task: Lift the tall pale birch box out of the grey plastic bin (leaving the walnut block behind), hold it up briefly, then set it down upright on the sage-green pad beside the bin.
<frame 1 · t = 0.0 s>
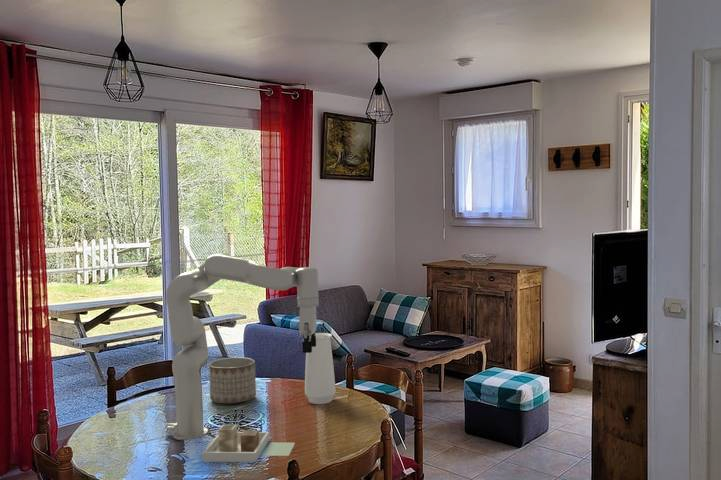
hand: (309, 349, 234), 31 cm above the table, fingers open, 9 cm apart
planter: (233, 400, 282), on the table
walnut block: (250, 450, 220), point 1 cm above the table, touching bin
birch box: (228, 450, 221), point 1 cm above the table, touching bin
vase: (320, 401, 277), on the table
bin: (237, 452, 221), on the table
pad: (279, 450, 221), on the table
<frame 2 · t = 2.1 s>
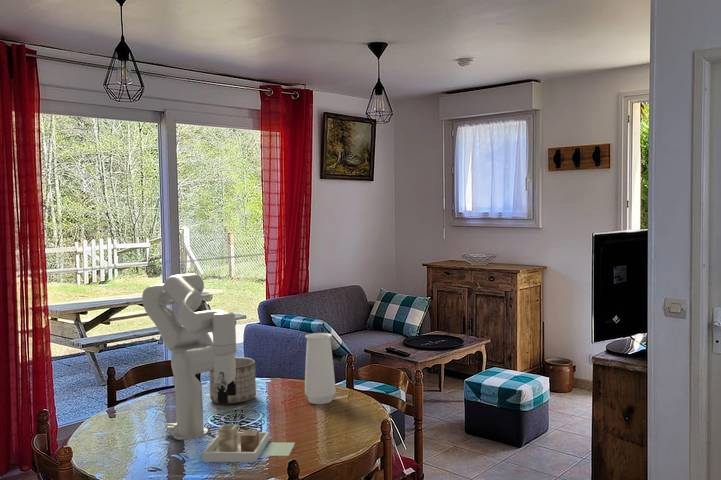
hand: (227, 399, 220), 18 cm above the table, fingers open, 9 cm apart
nothing on the table moved.
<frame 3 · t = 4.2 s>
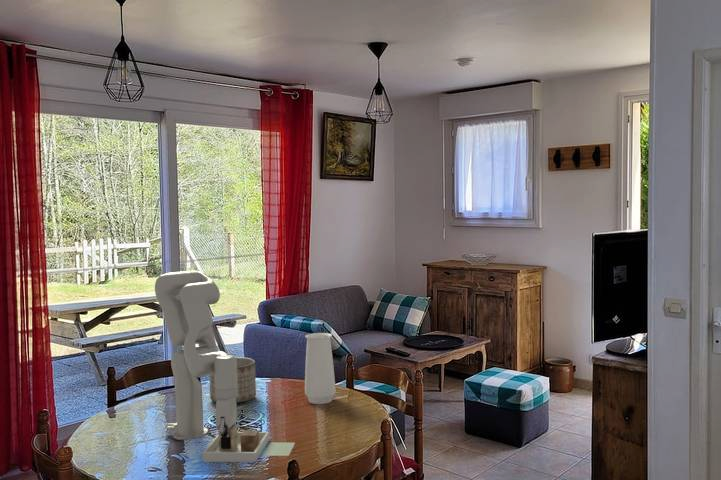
hand: (228, 444, 221), 2 cm above the table, fingers closed on birch box, 5 cm apart
birch box: (228, 450, 221), point 1 cm above the table, touching bin, gripper
everything else where it was.
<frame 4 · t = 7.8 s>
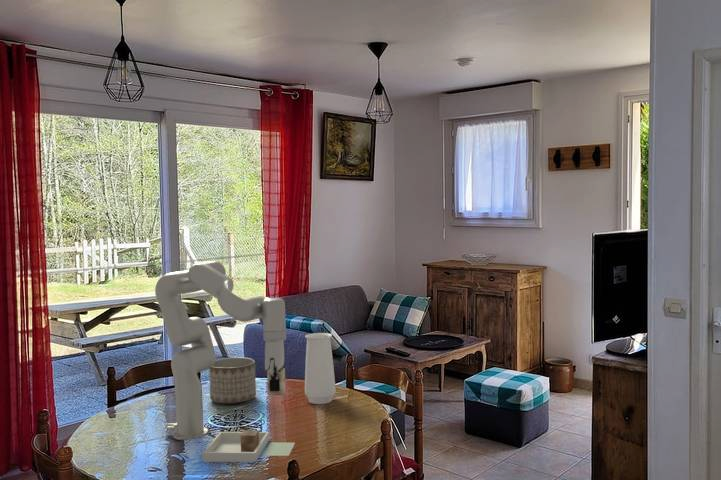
hand: (276, 388, 220), 21 cm above the table, fingers closed on birch box, 5 cm apart
birch box: (276, 393, 220), point 20 cm above the table, touching gripper
everything else where it was.
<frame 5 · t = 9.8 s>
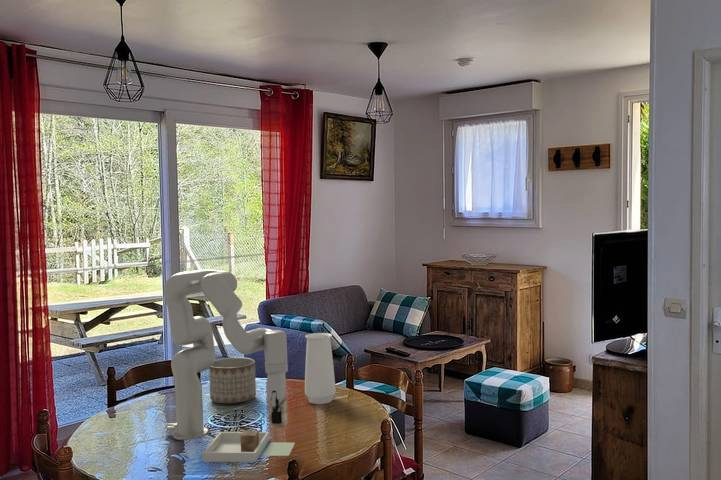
hand: (278, 420, 221), 11 cm above the table, fingers closed on birch box, 5 cm apart
birch box: (278, 425, 221), point 9 cm above the table, touching gripper
everything else where it was.
when the fingers open (3 cm above the table, at t = 11.6 s): birch box stays where it is, resting on pad.
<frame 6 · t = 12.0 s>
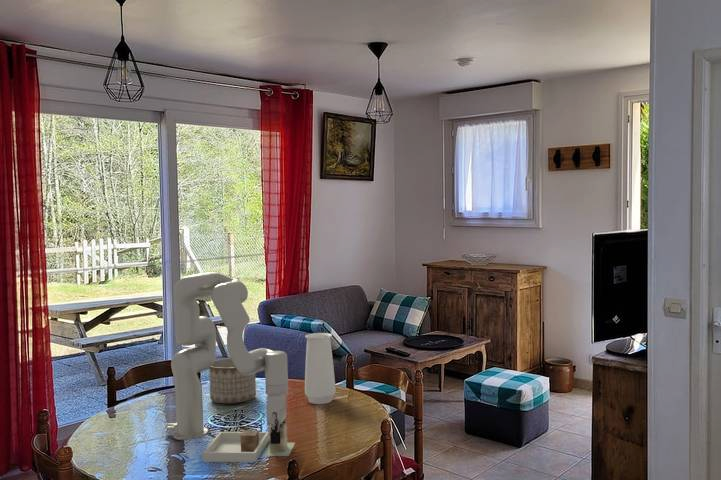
hand: (278, 438, 221), 4 cm above the table, fingers open, 9 cm apart
birch box: (278, 449, 221), point 1 cm above the table, touching pad
everything else where it was.
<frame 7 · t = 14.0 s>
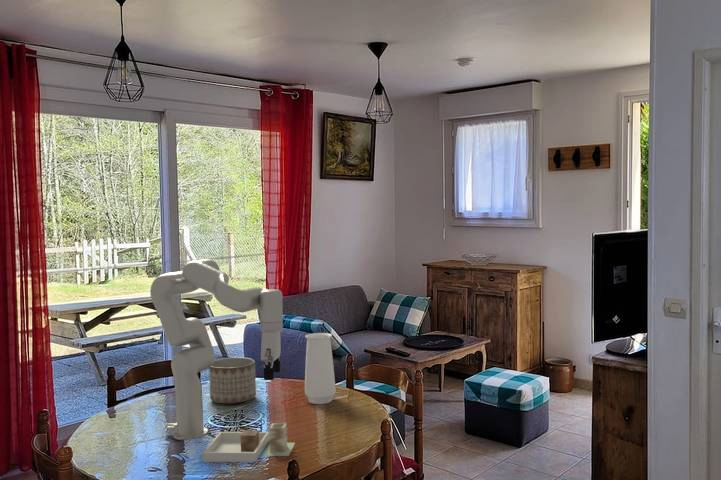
hand: (272, 375, 222), 25 cm above the table, fingers open, 9 cm apart
nothing on the table moved.
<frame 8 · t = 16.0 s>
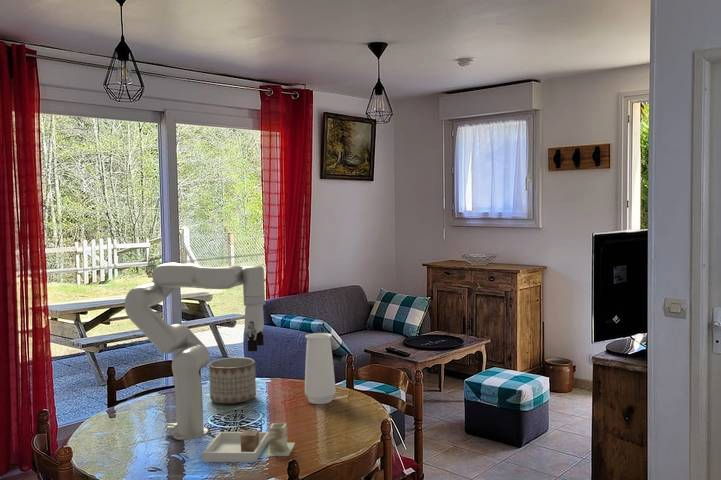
hand: (255, 348, 233), 32 cm above the table, fingers open, 9 cm apart
nothing on the table moved.
at the end: birch box inside the target area on the pad (0.1 cm from its centre), point 0.6 cm above the pad's base; birch box tilted 0°; the gripper is holding nothing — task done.
